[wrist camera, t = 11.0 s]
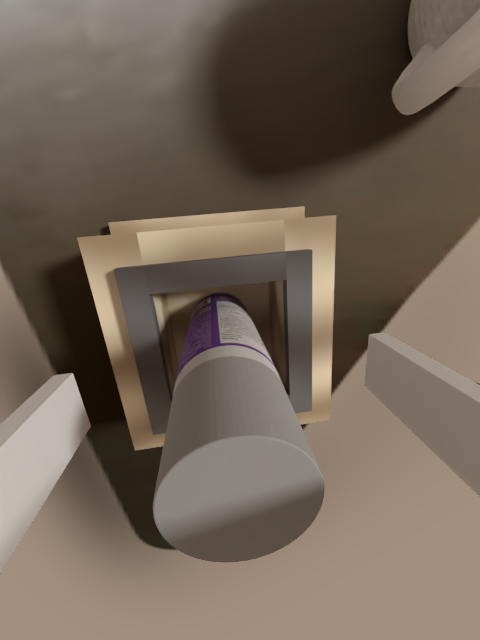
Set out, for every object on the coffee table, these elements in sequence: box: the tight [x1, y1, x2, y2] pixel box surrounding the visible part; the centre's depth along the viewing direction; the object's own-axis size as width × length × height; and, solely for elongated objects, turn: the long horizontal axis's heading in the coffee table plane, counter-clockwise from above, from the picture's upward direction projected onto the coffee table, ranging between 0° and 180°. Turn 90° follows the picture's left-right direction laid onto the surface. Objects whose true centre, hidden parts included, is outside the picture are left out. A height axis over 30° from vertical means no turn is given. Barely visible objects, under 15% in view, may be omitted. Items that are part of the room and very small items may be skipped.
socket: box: [77, 206, 336, 450], centre depth 18 cm, size 16×14×7 cm
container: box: [153, 293, 324, 562], centre depth 14 cm, size 5×5×15 cm
